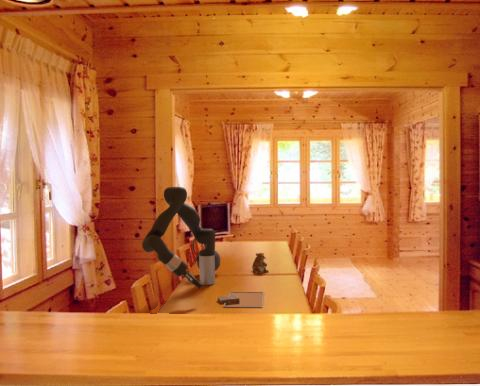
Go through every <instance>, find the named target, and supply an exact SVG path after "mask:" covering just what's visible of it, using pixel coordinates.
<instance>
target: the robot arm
mask: <svg viewBox="0 0 480 386" xmlns="http://www.w3.org/2000/svg"><path fill="white" fill-rule="evenodd" d="M163 198H164V201H165V202H166V204H167V205H168V206H169V207H167V208H166V209H165V210H164V211H162V212H161V213H159V215H158V216H157V217H156V219H155V221H154V223H153V225H152V227H151V229H150V230H149V231H148V233H146V236H145V237H144V238H143V240H142V243H141V247H142V250H143V251H145V252H146V253H151V252H156V254H157V255H156V256H157V259H158V260H159V261H160V262H161V263H162V264H163V265H164V266H165V267H166V268H167V269H168V270H169V271H170V272H172V273H173V274H174V276H176V277H177V278H179V277H181V276H182V277H183V278H184V280H186V281H188V282H189V283H190V284H192V285H194V286H196V287H197V288H198V289H199V290H201V289H202V288H203V286H210V285H215V284H216V271H215V259H214V252H215V251H216V235H215V234H216V232H215V230H214V229H213V228H202V227H200V224H201V223H200V222H201V216H200V214H199V213H198V212H197V210H196V209H195V208H194V207H193V206H191V205H189V204H188V203H186V201H187V198H188V192H187V189H186V188H185V187H183V186H182V187H181V186H169V187H166V188H165V189H164V191H163ZM176 215H178V217H180V218H181V220H182V222H183V223H184V224H185V225H186V226H187V228H188V229H189V230H190V232H191V233H192V235H193V237H194V239H196V241H195V242H197V243H198V244H201V245H205V244H207V247H206V248H205V247H204V248H203V249H201V250H199V252H198V254H199V265H200V269H199V281H198V279H197V278H196V277H195V276H194V275H193V274H192V272H191V271H189V270H187V269H188V266H189V265H188V263H186V262H185V261H184V260H182V259H181V257H179V256H178V255H177V254H175V252H173V251H171V250H170V249H169V248H168V246H167V244H166V243H165V242H164V240H163V239H162V237H163V236H164V235H165V234H166V233H167V230H168V228H169V226H170V223H171V222H172V220H173V219H174V217H175V216H176Z"/></svg>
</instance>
